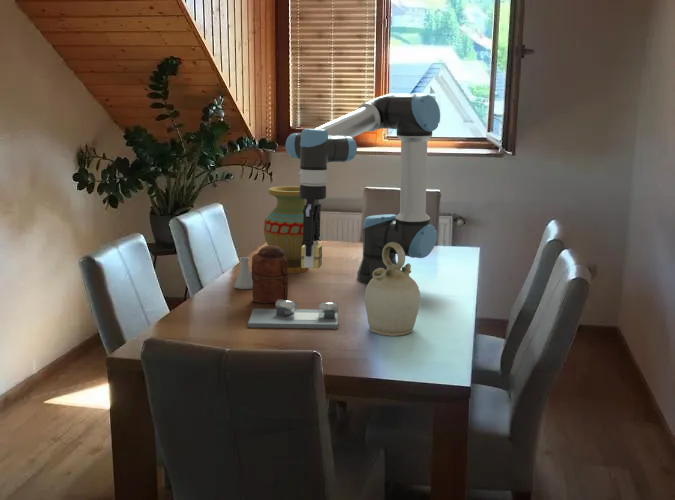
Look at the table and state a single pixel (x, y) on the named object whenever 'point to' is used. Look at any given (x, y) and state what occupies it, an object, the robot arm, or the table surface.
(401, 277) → the jug
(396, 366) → the table surface
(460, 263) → the table surface
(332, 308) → the shaft
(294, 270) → the vase
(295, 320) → the base plate
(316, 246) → the block
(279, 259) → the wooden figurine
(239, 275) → the flask
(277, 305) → the shaft
